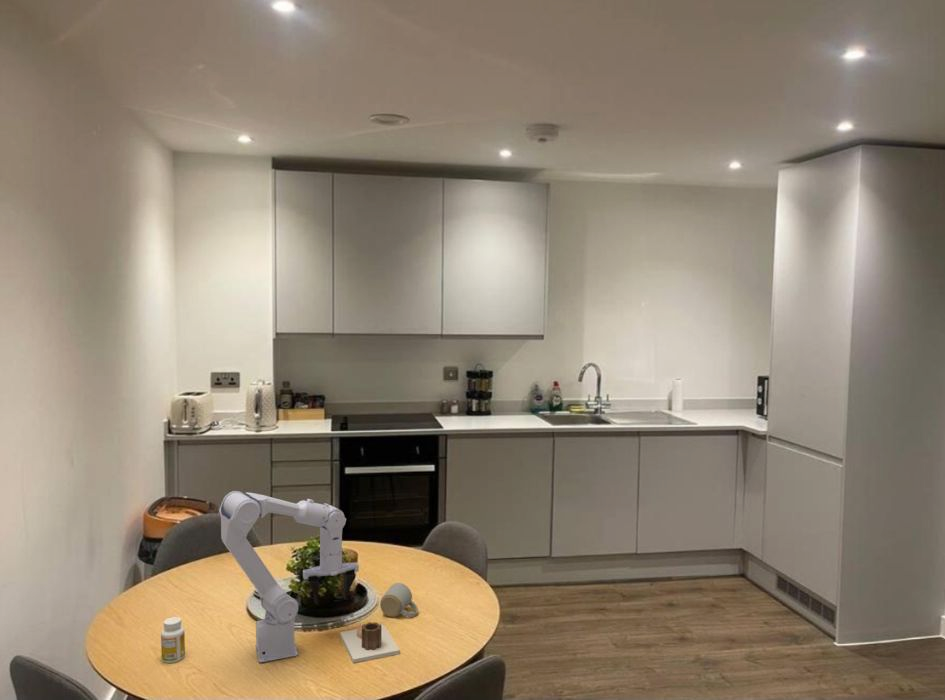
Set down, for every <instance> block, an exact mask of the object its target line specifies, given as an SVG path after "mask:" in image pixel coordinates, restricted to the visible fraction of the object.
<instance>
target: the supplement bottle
mask: <svg viewBox="0 0 945 700" xmlns="http://www.w3.org/2000/svg"><path fill="white" fill-rule="evenodd" d="M185 641H186V640H185V628H184V626H182V618H181V617H178V616H173V617H169V618H166V619H165V620H164V621H163V629H162V630H161V632H160V642H161V643H160V646H161V649H160V650H161V652H160V653H161V660H162V662H163V663H166V664H171V663H177V662H179V661H181V660H183V659H184V657H186V656H185V655H186V644H185V643H186V642H185Z"/></svg>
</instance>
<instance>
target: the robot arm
mask: <svg viewBox="0 0 945 700" xmlns="http://www.w3.org/2000/svg"><path fill="white" fill-rule="evenodd" d="M218 511H219V516H220V532H221V533H220V535H221V537H220V538H221V541H222V543H223V544H224V546H225V548H226V549H227V550H228V551H229V553H230V554H231V555H232V557H233V559H234V560H235V562H236V563H237V564H238V565H239V567H240V568H241V570H242V571H243V573H245V576H246V577H247V578H248V579H249V581H250V583H251V584H252V585H253V587H254V588H255V590H256V591H257V595H258V596H259V598H260V605H261V607H262V609H264V610H265V615H264V618H262V619H260V620H257V621H256V623H255V651H256V654H257V660H258V663H259V664H260V663H265V662H271V661H276V660H281V659H286V658H287V659H288V658H292V657H297V656H299V652H298V648H297V646H296V643H295V618H296V616H297V614H298V612H299V603H298V601H297V600H296V599H295V598H293V597H291V596H290V595H289V594H288V593H287V592H286V590H284V589H283V588H282V587H281V586H280V584H278V582H277V580H276V579H275V577H274V576H273V575H272V573H271V572H270V570H269V569H268V568H267V566H266V565H265V563H264V562H263V561H262V558H261V557H260V556H259V555H258V553H257V552H256V550H255V549H254V547H253V546H252V545H251V543H250V541H249V540H248V539H247V537H248V534H249V532H250V531H251V529H252V528H253V527H254V525H255V523H256V522H257V521H258V519H259V518H260V519H263V518H264V517H265V516H266V515H268V513H269V514H277V515H284V516H289V517H292V518H294V521H295V522H296V523H297V524H303V525H309V526H313V527H319V565H317V566H315V567H311V568H307V569H303V570H302V578H303V580H307V581H308V583H309V585H310V588H311V591H312V593H313V598H314V603H315V605H319V604H320V598H319V597H320V596H319V593H320V591H319V587H320V582H319V578H320V577H324V576H333V577H334V576H338V574H342V581H343V583H342V584H343V589H342V590H343V592H342V593H343V594H342V597H343V598H344V601H347V600H348V598H349V593H350V590H351V588H352V585H353V583H354V581H355V579H356V576H357V575H356V573H358V572H359V571H360V569H359V568H360V567H359V566H360V565H359V563H358V562H357V561H356V562H343V549H342V548H343V544H342V543H343V541H342V540H343V528H344V527H345V525H346V522H347V518H346V517H345V514H344V512H343V511H342V510H341V509H339V508H337V507H335V506H333V505H330V504H328V503H325V502H323V504H321V503H319V502H317V503H316V502H315V501H314V500H313V499H310V498H307V499H306V500H304V499H303V500H300V501H298V502H297V503H294V502H291V501H287V500H283V499H279V498H275V497H273V496H272V497H271V496H268V495H265V494H261V493H260V494H259V493H254V492H245V493H244V492H242V491H239V490H233V491H231V492H228V493H227V494H226V495H225V496H224V498H223V499H222V502H221V504H220V507H219V509H218Z"/></svg>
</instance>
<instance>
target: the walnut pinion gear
mask: <svg viewBox="0 0 945 700" xmlns="http://www.w3.org/2000/svg"><path fill="white" fill-rule="evenodd" d="M361 626H362V648H365V650H376V648H380V647H381V623H380V624H379V623H378V622H367V623H364V624H362V625H361Z"/></svg>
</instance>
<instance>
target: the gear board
mask: <svg viewBox="0 0 945 700" xmlns="http://www.w3.org/2000/svg"><path fill="white" fill-rule="evenodd" d="M380 624H381V623H380ZM339 637H340V639H341V641H342V643H343V645H344V647H345V649H346V652H347V653H348V655H349V657H350V660H351V661H352V664H356V663H362V662H367V661H371V660H376V659H382V658H386V657H391V656H396V655H400V654H401V652H400V651H401V650H400V648H399V647H398V645H397V643H396V642H395V640H394V639H393V637H392V635H391V634H390V633H389V631H388V629H387V627H385V624H384V623H383V624H381V647H380V648H376V650H365V648H362V625H360V626H359V627H357V628H354V629H350V630H345V631H340V632H339Z"/></svg>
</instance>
